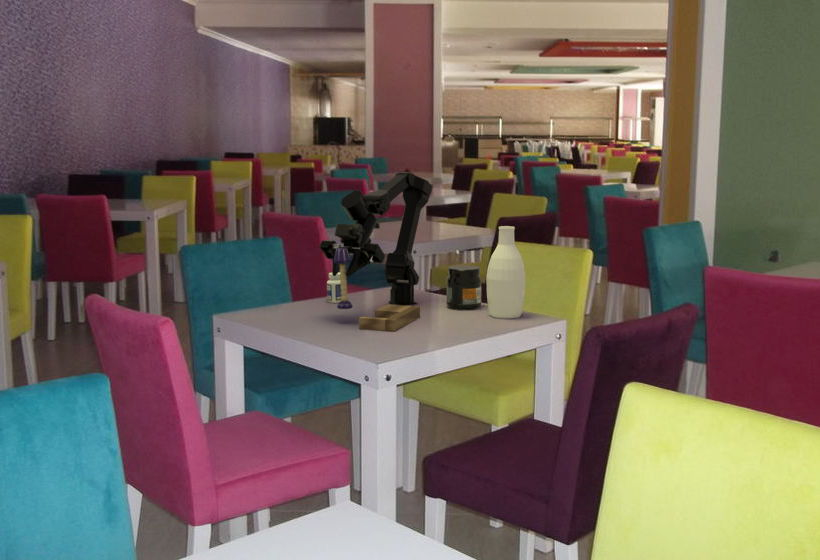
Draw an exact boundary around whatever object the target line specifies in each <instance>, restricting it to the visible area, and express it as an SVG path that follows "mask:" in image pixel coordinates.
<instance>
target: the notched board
mask: <svg viewBox="0 0 820 560" xmlns="http://www.w3.org/2000/svg"><path fill="white" fill-rule="evenodd" d="M420 317H421V306H419V305H418V306H417V305H395V304H390V303H387V304H385V305H382V306H380V307H379V308H376V309H375V310H374V317H373V316H360V317H358V329H359V330H368V331H382V332H396V331H397V330H399V329H401V328H403V327H404V326H406V325H409V324H410V323H412V322H413V321H415V320H417V319H418V318H420Z"/></svg>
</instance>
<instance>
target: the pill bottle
mask: <svg viewBox="0 0 820 560" xmlns="http://www.w3.org/2000/svg"><path fill="white" fill-rule="evenodd" d="M340 274H341V273H340V271H339V272H338V273H337V275H336V276H333V274H332V272H329V273H328V280H327V282H326V300H327V303H331V304H333V303H334V304H338V303H339V302H341V301H342V299H341V297H342V295H341V283H340V280H341V278H340Z"/></svg>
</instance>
